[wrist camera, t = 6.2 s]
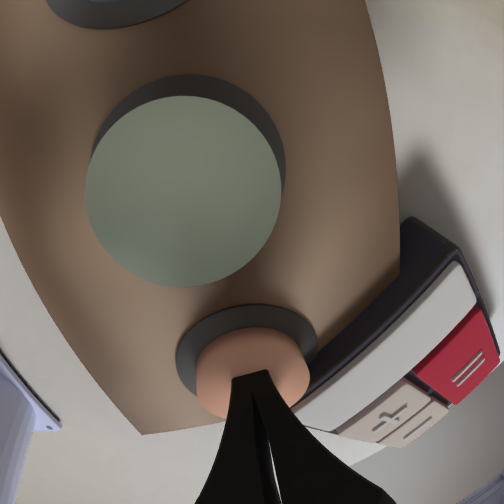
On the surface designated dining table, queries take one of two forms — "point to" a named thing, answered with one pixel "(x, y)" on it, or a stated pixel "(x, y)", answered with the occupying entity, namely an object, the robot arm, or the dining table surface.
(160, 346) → the button panel
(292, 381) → the terracotta button
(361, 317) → the calculator
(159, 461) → the dining table surface
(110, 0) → the slate button
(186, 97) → the sage button
